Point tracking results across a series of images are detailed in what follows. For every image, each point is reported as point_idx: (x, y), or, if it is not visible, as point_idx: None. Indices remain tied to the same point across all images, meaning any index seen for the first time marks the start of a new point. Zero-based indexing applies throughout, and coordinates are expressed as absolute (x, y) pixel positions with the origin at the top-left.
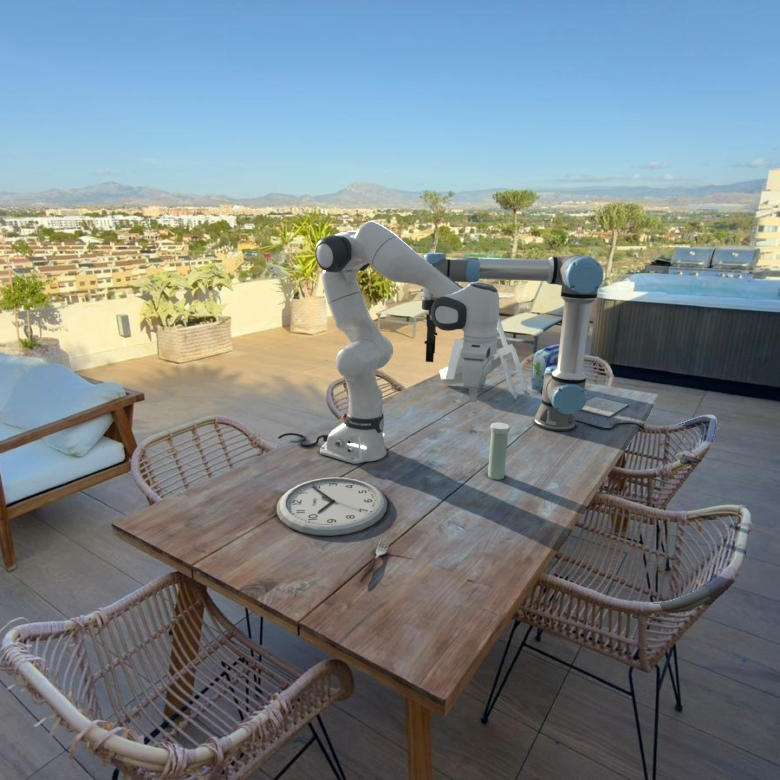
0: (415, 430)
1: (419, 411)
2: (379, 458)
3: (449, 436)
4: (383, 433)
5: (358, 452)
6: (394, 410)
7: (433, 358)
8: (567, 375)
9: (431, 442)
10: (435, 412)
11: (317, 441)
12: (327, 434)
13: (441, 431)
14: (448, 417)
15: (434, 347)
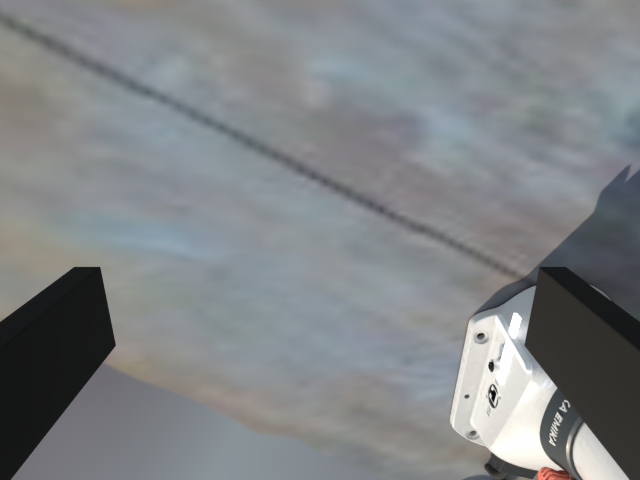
0: (339, 203)
1: (117, 202)
2: (607, 296)
3: (387, 59)
4: (520, 319)
5: None
6: (139, 297)
7: (578, 286)
8: None
9: (456, 134)
10: (107, 131)
11: (492, 468)
12: (531, 469)
13: (335, 96)
14: (154, 67)
15: (57, 311)
